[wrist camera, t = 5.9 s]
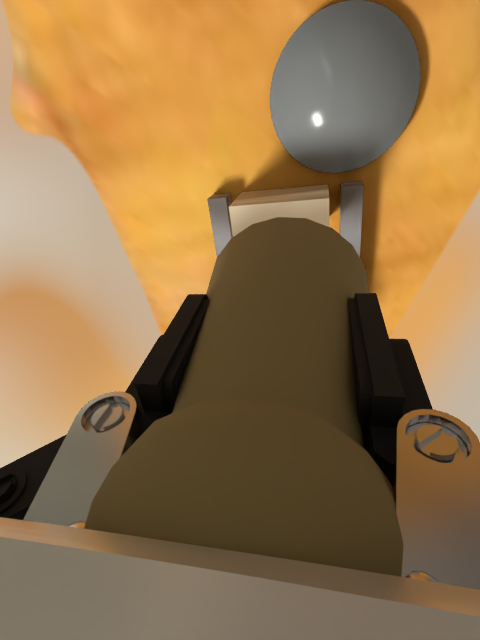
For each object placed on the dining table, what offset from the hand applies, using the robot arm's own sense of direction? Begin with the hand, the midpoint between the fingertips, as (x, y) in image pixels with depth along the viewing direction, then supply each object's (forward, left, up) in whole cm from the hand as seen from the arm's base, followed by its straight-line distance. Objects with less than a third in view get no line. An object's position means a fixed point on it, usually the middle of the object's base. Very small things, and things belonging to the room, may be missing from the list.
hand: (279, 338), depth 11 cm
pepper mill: (0, 0, -4) cm, 4 cm away
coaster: (-6, +3, -19) cm, 20 cm away
